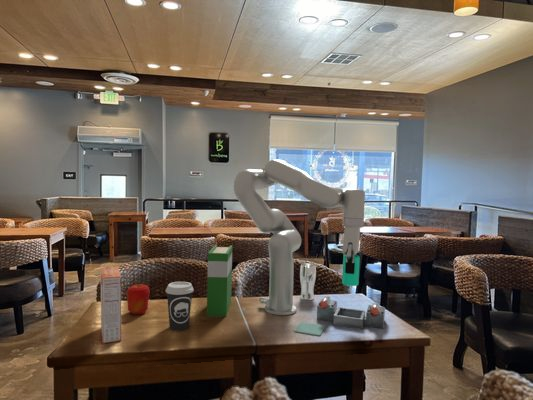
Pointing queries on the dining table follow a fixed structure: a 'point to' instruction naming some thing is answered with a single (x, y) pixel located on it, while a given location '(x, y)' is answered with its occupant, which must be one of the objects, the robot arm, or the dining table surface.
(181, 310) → the coffee cup
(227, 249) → the hardback book
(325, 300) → the left plunger
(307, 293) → the beer glass
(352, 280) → the candle
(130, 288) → the apple
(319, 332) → the pad
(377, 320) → the housing
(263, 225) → the robot arm
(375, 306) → the right plunger
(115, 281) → the cracker box
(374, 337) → the dining table surface
